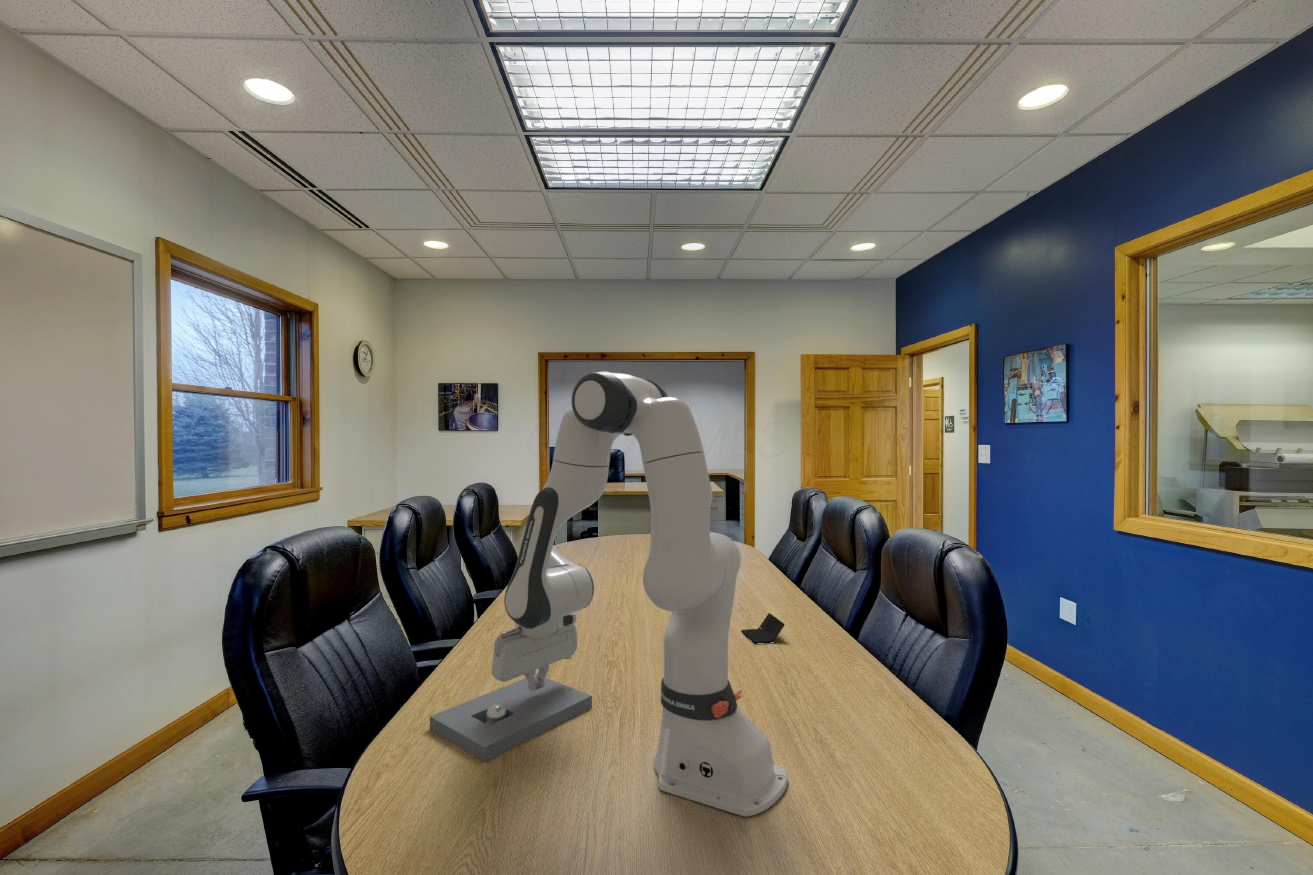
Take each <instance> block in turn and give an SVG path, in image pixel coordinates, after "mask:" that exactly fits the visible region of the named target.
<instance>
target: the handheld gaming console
mask: <svg viewBox="0 0 1313 875" xmlns="http://www.w3.org/2000/svg"><path fill="white" fill-rule="evenodd" d="M784 627H785V622H783V621H781V620H780V619H779V618H778V617H775V616H774V615H773V614H772V613H771V612H769V613H768V614H767V615H766V617H765V618H764V620H762V622H761V624H760V625H759V627H757V628H750V629H749V628H747V629H741V630H740V631H741V632H742V633H743V634H744V635H745V638H747V639H748V640H749V639H750V640H751V641H752V642H753V643H754V644H757V643H771V642H774V643H775V640H776V639H777V638H778V636H779V635H780V633H781V632H782V629H784ZM742 633H741V634H742ZM743 634H742V635H743ZM750 640H749V641H750ZM751 641H750V642H751ZM752 642H751V643H752ZM753 643H752V644H753ZM754 644H753V645H754Z"/></svg>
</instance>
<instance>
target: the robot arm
mask: <svg viewBox="0 0 1313 875" xmlns="http://www.w3.org/2000/svg"><path fill="white" fill-rule="evenodd" d="M621 435H624V436H625V437H630V436H633V437H634V438H635V439H636V441H637V442H638V447H639V450H640V454H641V455H640V457H641V461H642V466H643V473H644V477H645V478H644V479H645V482H646V489H647V493H648V498H649V500H648V501H649V505H650V506H649V507H650V536H649V537H650V539H649V553H648V556H647V560H646V563H645V565H644V568H643V571H642V583H643V584H642V585H643V588H644V591H645V593H646V596H647V597H648V599H649V600H650V601H651V603H653V604H654V605H655V606H656V607H658V608H659V609H661V610H664V611H667V612H671V614H670V617H669V620H668V623H667V626H666V628H665V631H664V635H663V677H662V678H661V683H660V704H661V705H662V716H661V725H660V726H661V727H660V733H659V734H660V735H659V739H658V745H657V749H656V753H655V757H654V760H653V767H654V770H655V771H654V772H656V773H657V774H656V775H658V782H657V783H658V784H657V785H658V786H657V787H658V789H659V790H660V791H662V792H666V793H669V794H671V795H675V796H678V797H681V798H684V799H686V800H690V801H694V802H697V803H700V804H702V805H706V806H709V807H712V808H716V809H719V810H722V811H726V812H728V813H732V814H734V815H738V816H742V817H751V816H755V815H757V814H761V813H762V812H765V811H766V810H768V809H769V808H770V807H771V806H773V805H774V804H775V803H776V802H777V801H778V800H779V799H780V798H781V797H782V795H783V794H784V793H785V791H786V789H787V787H788V774H787V770H786V769H785V768H783V767H781V766H780V765H777V764H776V763H774V759H773V753H772V748H771V744H770V741H769V739H768V737H766V735H764V734H763V732H762V731H761V730H759V728H758V727H757V726H756V725H755V724H754V723H753V722H752V721H751V720H750V719H749V718H748V716H746V715H745V714H744V712H743V711H742V710H741V709H740V708H739V707H738V700H740V699H741V698H742V695H741V694H742V692H743V691H742V690H740V689H739V691H737V692H735V693H734V691H733V690H734V689H733V688H732V684H731V682H730V680H729V633H730V626H731V618H732V613H733V607H734V600H735V592H736V582H737V577H738V574H739V570H740V568H741V564H742V563H741V562H742V561H741V553H740V550H739V547H738V546H737V544H736V542H735V541H733V540H732V538H730V537H728V536H727V535H725V534H723V533H719V532H714V531H711V527H710V526H711V525H710V523H711V520H710V519H711V507H712V502H713V496H714V493H713V489H712V485H711V480H710V474H709V471H708V465H707V461H706V456H705V451H704V447H703V443H702V440H701V435H700V432H699V429H698V426H697V423H696V421H695V418H694V416H693V413H692V411H691V408H690V407H689V404H687V403H686V402H685V401H684V400H683V399H680V398H679V397H678V398H677V397H674V396H673V397H672V396H668V394H667V392H666V391H665V389H664V388H663V387H662V386H661V385H659V384H658V383H656V382H654V381H653V380H650V379H645V378H641V377H637V376H634V375H632V374H628V373H624V372H623V373H621V372H610V371H603V370H602V371H596V372H595V371H594V372H591V373H589V374H585V375H584V376H582V377H581V378H580V379H579V380H578V381H577V383H576V384H575V385H574V388H573V391H572V395H571V408H569V409H568V410H566V412H565V413H564V414H563V416H562V418H561V422H560V425H559V429H558V432H557V436H556V439H555V445H554V451H553V457H552V464H551V469H550V472H549V475H548V477H547V480H546V482H545V484H544V486H543V487H542V489H541V490H540V491H539V492H538V493H537V494H536V496H535V497H534V499H533V501H532V505H531V507H530V511H529V514H528V518H527V521H526V526H525V529H524V533H523V537H522V541H521V545H520V548H519V551H518V552H519V553H518V556H517V559H516V564H515V567H514V571H513V574H512V575H511V578H510V579H509V582H508V585H507V587H506V590H505V594H504V600H503V601H504V608H505V611H506V613H507V616H508V617H509V618H510V619H511V620H512V621H513V622H514V628H512V629H510V630H507V631H506V630H505V631H503V632H501V633H500V634H499V635H498V637H497V638H496V639H495V641H494V644H493V655H492V660H491V661H492V662H491V675H492V677H493V678H494V679H495V680H496V681H497V680H498V681H499V682H502V683H505V682H508V681H511V680H513V679H516V678H518V677H521V676H523V675H524V677H525V678H526V679H527V681H528V689H529V690H530V691H535V690H537V689H539V688H542V687H544V685H545V678H547V675H548V673H549V670H550V665H551V664H554V663H556V662H559V661H562V660H564V659H568V658H567V657H569V656H574V655H575V654H576V651H577V649H578V630H577V626H576V625H575V624H576V622H577V615H576V614H575V613H578V612H579V611H582V610H583V609H586V608H588V607H589V606H590V605H591V602H592V600H593V597H594V594H595V585H594V580H593V577H592V575H591V573H590V572H589V570H588V569H587V568H586V567H585V566H584V565H582V564H577V563H575V562H573V561H571V560H569V559H568V558H566V557H565V556H563V555H562V554H561V553H560V551H559V550H558V548H557V546H556V545H554V544H555V540H556V536H557V534H558V532H559V531H560V529H561V528H562V526H564V524H565V523H566V522H567V521H568V520H570V519H571V518H572V517H574V516H575V515H577V514H578V513H579V512H582V511H583V510H585V509H587V508H589V507H591V506H592V505H593V504H594V503H596V502H597V501H598V500H599V499H600V498H601V497H602V496H603V494H604V491H605V490H606V487H607V483H608V478H609V471H610V470H609V469H610V462H611V451H612V447H613V443H614V442H615V440H616V439H617V438H618V437H619V436H621ZM536 670H538V672H537V674H538V675H537V678H534V676H533V675H535V674H536Z"/></svg>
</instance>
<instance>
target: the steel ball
mask: <svg viewBox="0 0 1313 875" xmlns="http://www.w3.org/2000/svg"><path fill="white" fill-rule="evenodd" d="M506 716H507V712H506V709H505V708H504V707H503V706H502V705H500V704H495V705H492V706H491V707H490V708H489V709H488V710H487V712H486V716H485V718H486V722H485V723H486V724H487V725H491V724H493V723H496V722H498V721H500V720H502V719H505V718H506Z"/></svg>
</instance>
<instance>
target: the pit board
mask: <svg viewBox="0 0 1313 875" xmlns="http://www.w3.org/2000/svg"><path fill="white" fill-rule="evenodd" d="M537 675H538V673H535V675H533V676H534V678H537ZM495 704H500V705H502V706H503V707H504V708H505V709H506V712H507V716H506V718H505V719H502V720H500V721H498V722H496V723H493V724H491V725H488V723H487V722H486V718H485V716H486V712H487V710H488V709H489V708H490V707H491V706H492V705H495ZM592 708H593V695H591V694H588V693H586V692H584V691H581V690H579V689H576V688H573V687H571V686H569V685H566V684H563V683H561V682H558V681H555V680H553V679H550V678H547V677H545V685H544V687H542V688H539V689H537V690H535V691H530V690H529V689H528V681H527V679H526V677H525V678H523V679H520V680H517V681H515V682H513V683H510V684H508V685H505V686H502V687H500V688H497V689H495V690H493V691H490V692H488V693H485V694H483V695H480V696H478V697H474V698H472V699H470V700H467V701H464V702H463V703H460V704H456V705H455V706H452V707H449V708H447V709H445V710H443V711H440V712H437V713H434V714H432V715H430V716H429V730H430V731H431V732H434V733H435V734H437V735H438V736H440V737H441V738H443V739H445V740H447V741H448V742H450V743H452V744H453V745H455V746H457V747H458V748H461V750H464V751H466V752H467V753H469V754H470V755H472V756H474V757H476V758H477V759H479V760H480V761H482V762H484V763H485V762H488V761H489V760H491V759H494V758H496V757H498V756H500V755H502V754H504V753H505V752H507V751H510V750H512V749H513V748H515V747H518V746H519V745H521V744H523V743H525V742H527V741H530V740H531V739H533V738H535V737H537V736H539V735H541V734H543V733H545V732H547V731H548V730H549V731H550V730H551V729H553V728H555V727H557V726H559V725H561V724H563V723H564V722H566V721H568V720H570V719H571V720H572V718H574V717H576V716H578V715H580V714H583V713H584V712H586V711H589V710H590V709H592Z"/></svg>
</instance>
